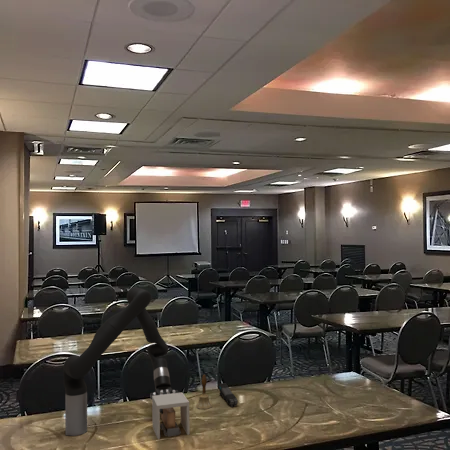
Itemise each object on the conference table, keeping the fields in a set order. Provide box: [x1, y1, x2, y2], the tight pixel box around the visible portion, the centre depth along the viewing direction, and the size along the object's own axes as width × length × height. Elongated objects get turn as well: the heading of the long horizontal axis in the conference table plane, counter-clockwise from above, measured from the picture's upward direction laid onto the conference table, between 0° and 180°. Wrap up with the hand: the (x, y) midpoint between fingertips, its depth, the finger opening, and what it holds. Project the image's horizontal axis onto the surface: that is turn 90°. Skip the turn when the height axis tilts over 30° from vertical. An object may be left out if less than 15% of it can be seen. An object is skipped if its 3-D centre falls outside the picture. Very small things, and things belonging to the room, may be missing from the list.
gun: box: [217, 382, 239, 408], centre depth 251 cm, size 4×20×10 cm, turn 19°
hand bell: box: [195, 374, 213, 410], centre depth 244 cm, size 8×8×16 cm
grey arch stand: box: [151, 392, 191, 440], centre depth 213 cm, size 14×14×14 cm
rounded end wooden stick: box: [160, 407, 177, 430], centre depth 218 cm, size 18×4×8 cm, turn 17°
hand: (166, 412), depth 222 cm, fingers closed on rounded end wooden stick, 3 cm apart
